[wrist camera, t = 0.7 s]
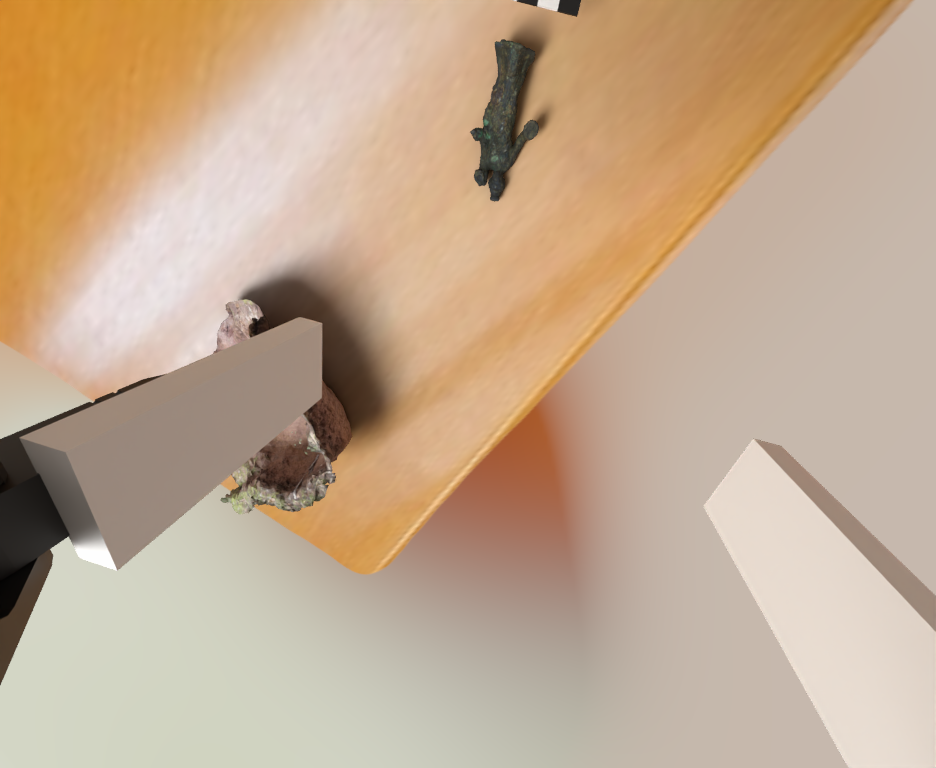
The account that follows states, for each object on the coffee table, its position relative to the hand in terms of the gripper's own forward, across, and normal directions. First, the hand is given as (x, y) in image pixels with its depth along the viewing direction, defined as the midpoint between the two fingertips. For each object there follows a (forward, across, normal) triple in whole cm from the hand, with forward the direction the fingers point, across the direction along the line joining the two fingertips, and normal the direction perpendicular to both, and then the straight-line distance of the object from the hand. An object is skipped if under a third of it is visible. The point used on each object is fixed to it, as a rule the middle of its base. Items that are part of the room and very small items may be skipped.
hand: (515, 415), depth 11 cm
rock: (+24, -23, -20) cm, 39 cm away
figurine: (+22, -5, +18) cm, 29 cm away
